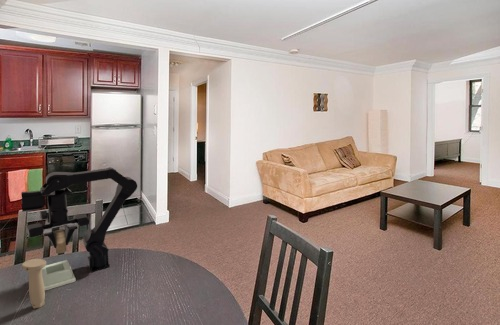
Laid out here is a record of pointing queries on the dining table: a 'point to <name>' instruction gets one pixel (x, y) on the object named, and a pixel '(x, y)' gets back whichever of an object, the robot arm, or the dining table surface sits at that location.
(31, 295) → the handle
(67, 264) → the socket plate
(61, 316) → the dining table surface
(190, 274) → the dining table surface
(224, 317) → the dining table surface
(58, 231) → the dowel
